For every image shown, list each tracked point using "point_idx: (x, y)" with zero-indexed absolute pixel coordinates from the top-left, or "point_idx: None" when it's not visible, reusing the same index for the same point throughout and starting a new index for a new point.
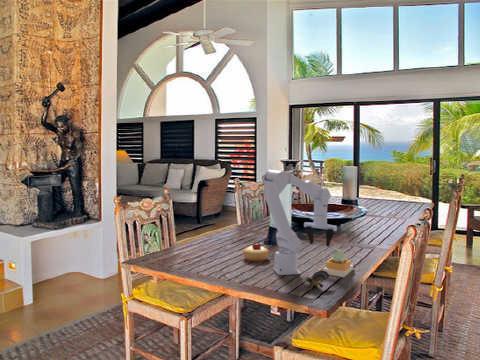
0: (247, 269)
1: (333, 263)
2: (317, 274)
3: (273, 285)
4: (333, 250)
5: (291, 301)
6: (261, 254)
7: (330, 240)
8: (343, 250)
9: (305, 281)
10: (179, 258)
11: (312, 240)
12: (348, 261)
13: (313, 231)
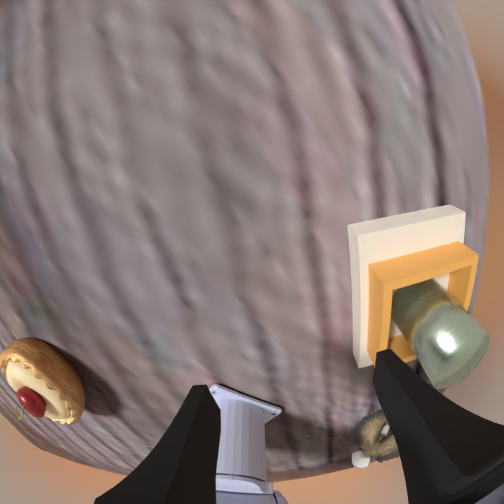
0: (136, 437)
1: (412, 358)
2: (386, 452)
3: (276, 463)
4: (433, 385)
5: (352, 466)
6: (80, 411)
7: (420, 384)
8: (487, 335)
9: (355, 454)
10: (25, 421)
11: (208, 420)
12: (472, 282)
13: (177, 494)
